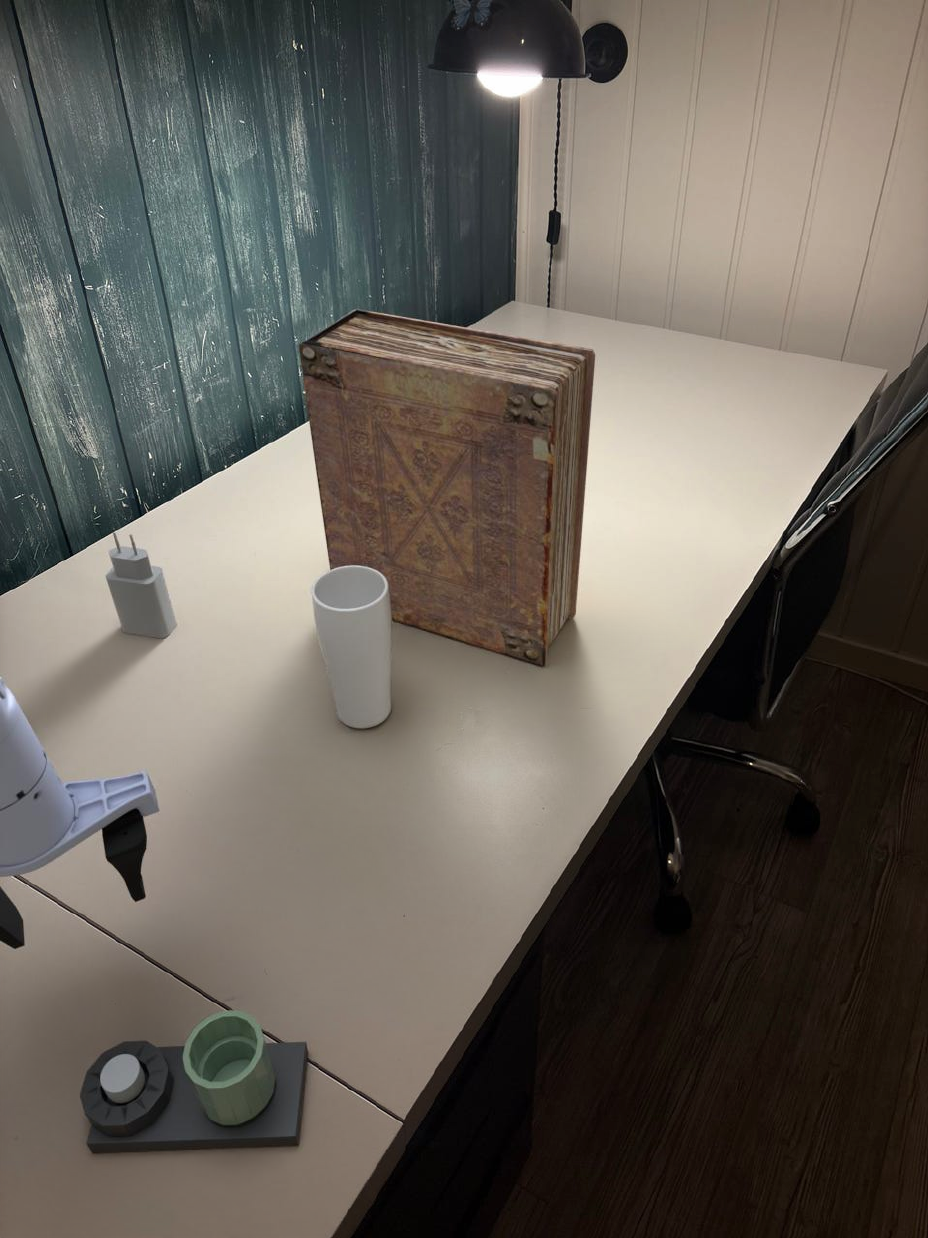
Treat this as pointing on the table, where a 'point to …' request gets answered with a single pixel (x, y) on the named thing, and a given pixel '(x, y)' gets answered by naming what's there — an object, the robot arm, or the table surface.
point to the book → (454, 472)
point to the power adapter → (139, 593)
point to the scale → (189, 1105)
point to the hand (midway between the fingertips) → (79, 911)
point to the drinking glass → (355, 641)
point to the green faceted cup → (229, 1067)
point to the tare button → (122, 1078)
